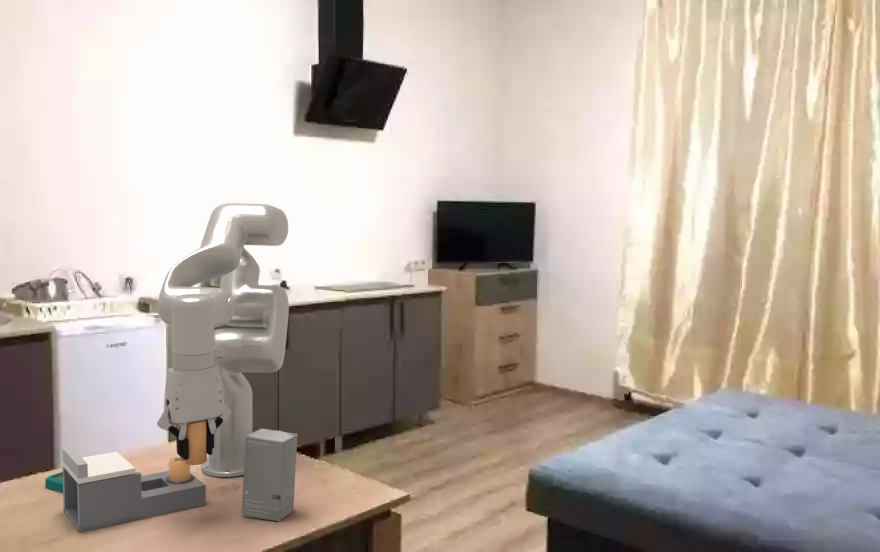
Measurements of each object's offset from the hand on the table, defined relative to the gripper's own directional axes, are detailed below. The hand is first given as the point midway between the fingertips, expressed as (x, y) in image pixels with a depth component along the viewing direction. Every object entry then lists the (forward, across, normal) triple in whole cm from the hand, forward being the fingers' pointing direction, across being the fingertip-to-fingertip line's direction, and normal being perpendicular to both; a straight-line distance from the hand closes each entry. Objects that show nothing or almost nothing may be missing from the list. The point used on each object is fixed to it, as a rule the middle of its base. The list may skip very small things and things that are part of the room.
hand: (195, 454), depth 152 cm
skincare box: (+13, -12, +6) cm, 19 cm away
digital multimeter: (+14, +12, -32) cm, 37 cm away
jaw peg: (+1, 0, 0) cm, 1 cm away
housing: (+13, +9, -11) cm, 19 cm away
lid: (+3, +15, -11) cm, 19 cm away
